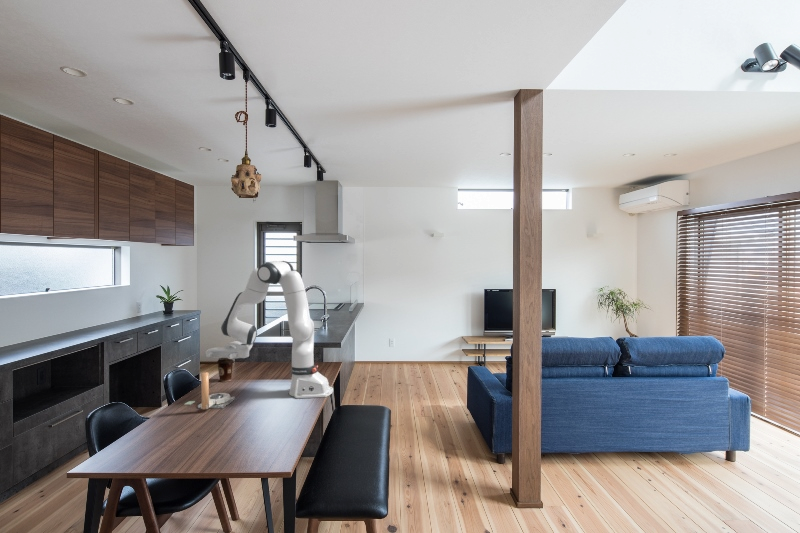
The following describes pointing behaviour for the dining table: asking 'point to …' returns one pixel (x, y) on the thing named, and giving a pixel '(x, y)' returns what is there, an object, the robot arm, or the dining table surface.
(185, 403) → the lock mark
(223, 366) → the coffee cup
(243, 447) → the dining table surface
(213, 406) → the plinth
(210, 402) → the peg stand
